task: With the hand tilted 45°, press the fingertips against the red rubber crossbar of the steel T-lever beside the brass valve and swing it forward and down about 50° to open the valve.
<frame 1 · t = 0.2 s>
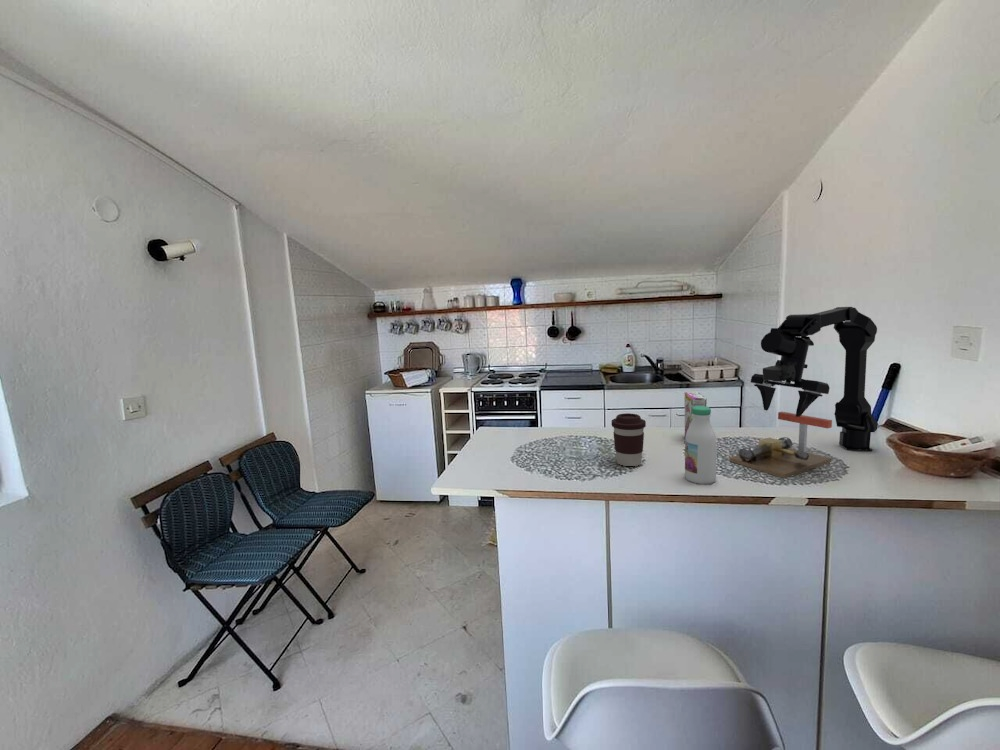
hand: (781, 413, 119), 16 cm above the countertop, tool pointing down, fingers open, 9 cm apart
candy bar box: (694, 441, 148), on the countertop
milk bottle: (700, 479, 115), on the countertop
valve lever: (802, 437, 120), point 8 cm above the countertop, hinge at 0.0°
coffee cup: (628, 463, 130), on the countertop
valve on board: (769, 456, 129), on the countertop
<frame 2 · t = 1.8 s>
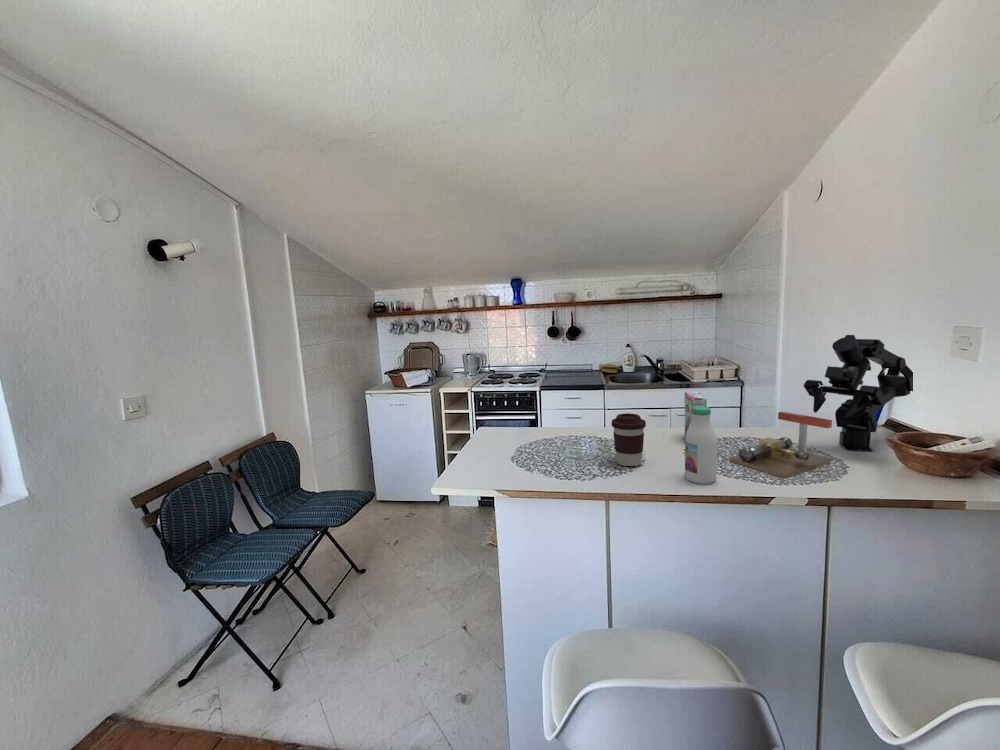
hand: (829, 414, 124), 13 cm above the countertop, tool tilted 45°, fingers open, 8 cm apart
nothing on the countertop moved.
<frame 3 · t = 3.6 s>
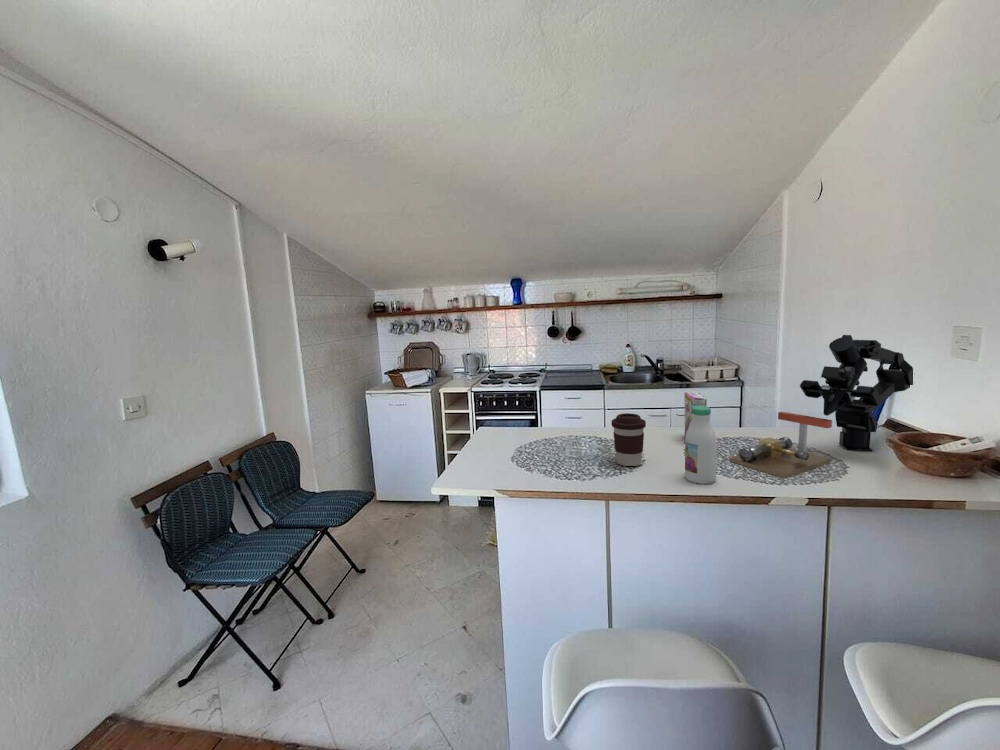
hand: (825, 414, 123), 13 cm above the countertop, tool tilted 45°, fingers closed
nothing on the countertop moved.
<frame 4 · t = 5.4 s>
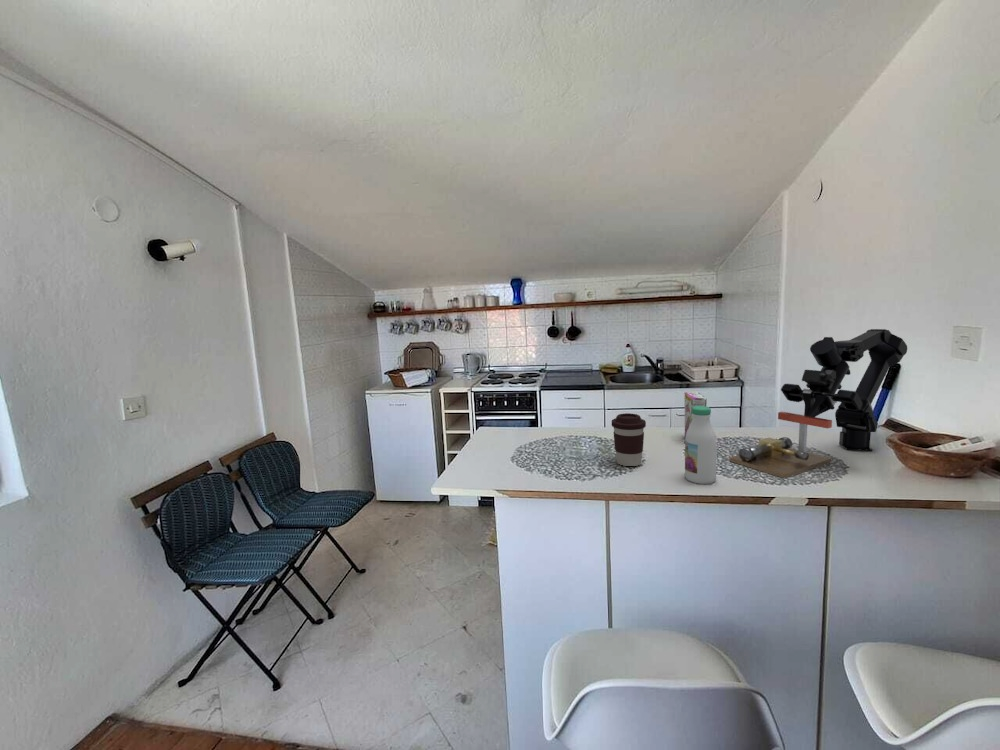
hand: (806, 419, 119), 13 cm above the countertop, tool tilted 45°, fingers closed, pressing on valve lever
valve lever: (802, 437, 120), point 8 cm above the countertop, hinge at 0.1°, touching gripper
everything else where it was.
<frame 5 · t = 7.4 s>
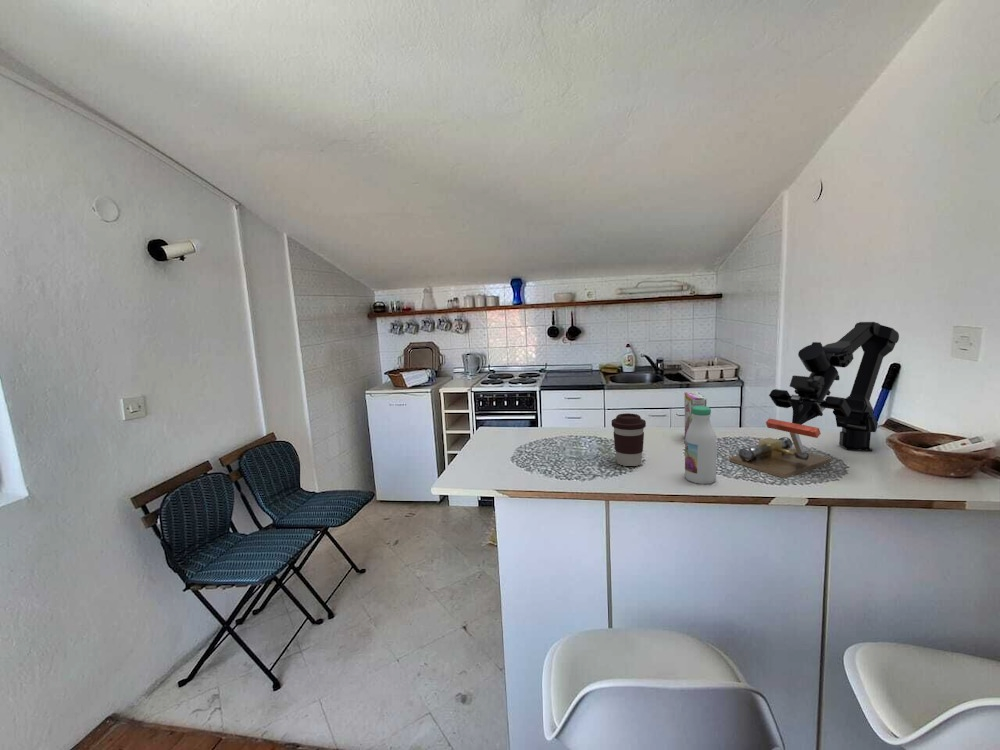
hand: (794, 426, 117), 12 cm above the countertop, tool tilted 45°, fingers closed, pressing on valve lever
valve lever: (797, 441, 118), point 7 cm above the countertop, hinge at 30.8°, touching gripper
everything else where it was.
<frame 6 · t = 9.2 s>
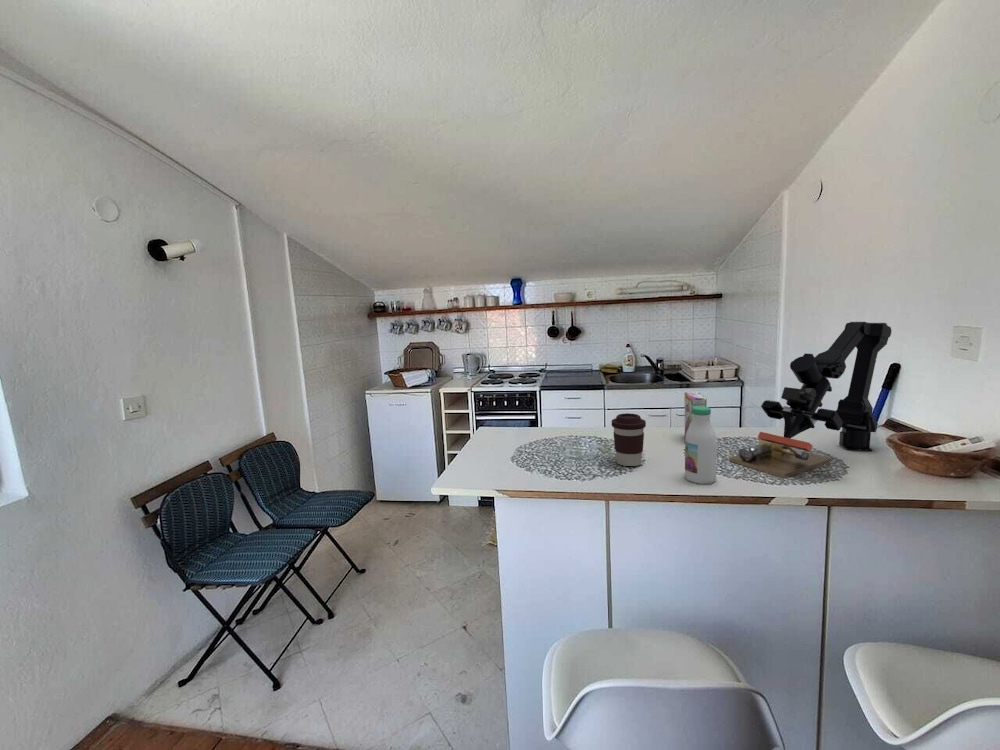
hand: (785, 438, 116), 9 cm above the countertop, tool tilted 45°, fingers closed, pressing on valve lever
valve lever: (793, 448, 118), point 6 cm above the countertop, hinge at 56.7°, touching gripper
everything else where it was.
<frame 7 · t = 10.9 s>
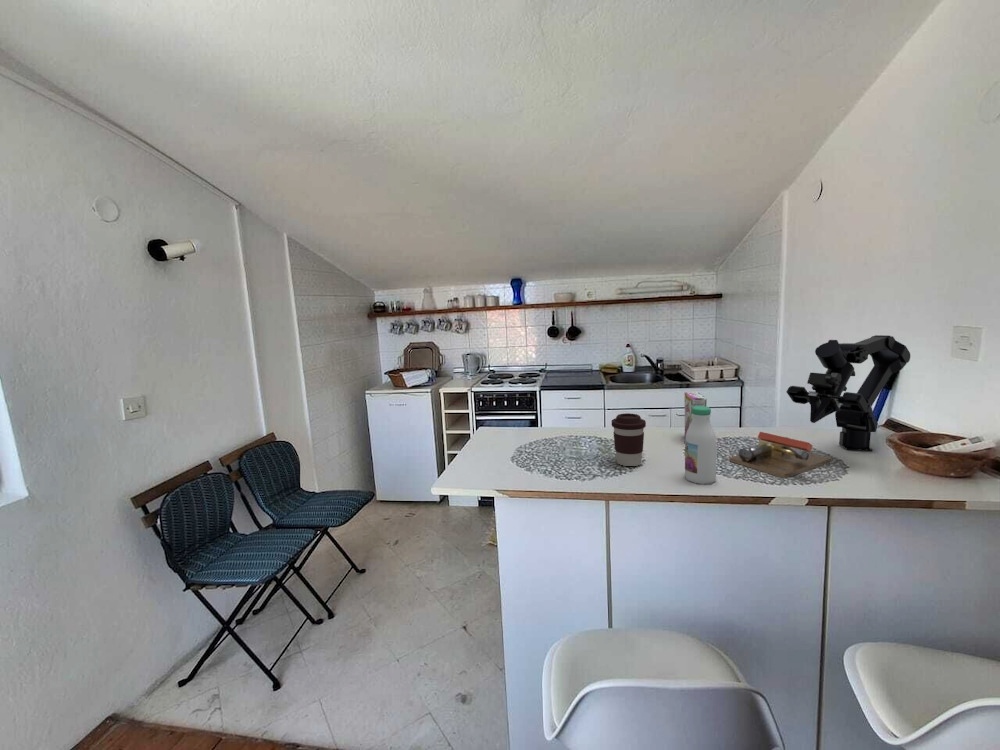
hand: (812, 421, 121), 12 cm above the countertop, tool tilted 45°, fingers closed
valve lever: (793, 448, 118), point 6 cm above the countertop, hinge at 56.7°
everything else where it was.
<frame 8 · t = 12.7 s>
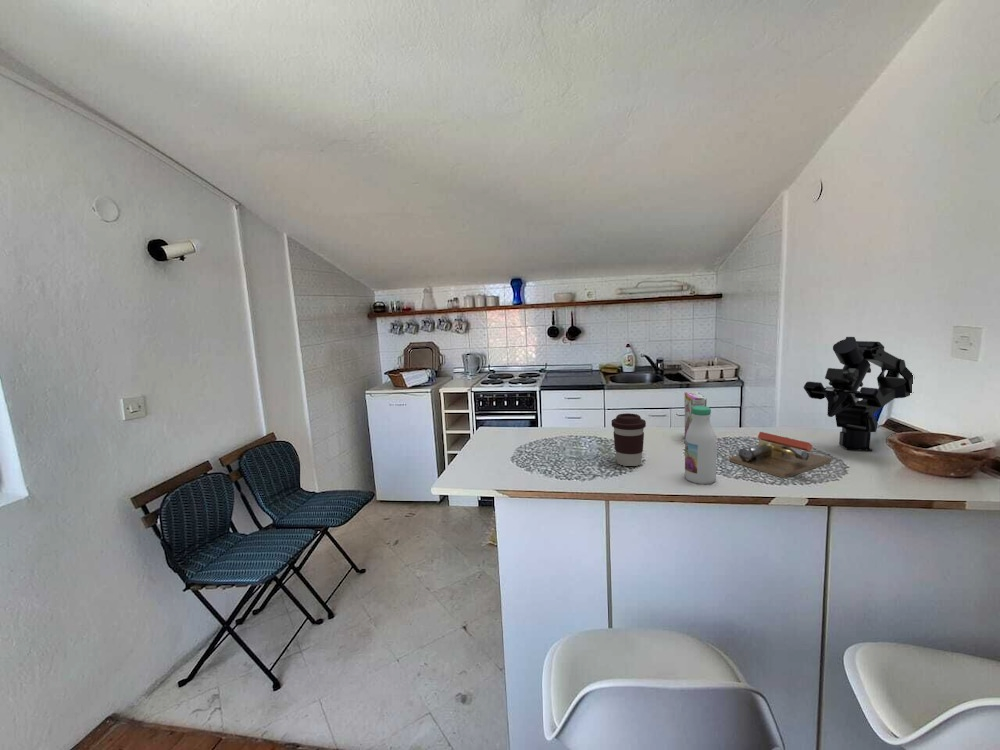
hand: (829, 415, 124), 13 cm above the countertop, tool tilted 45°, fingers closed
nothing on the countertop moved.
at the end: valve lever at +57° (first picture: +0°); milk bottle moved 0.2 cm from its start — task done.
